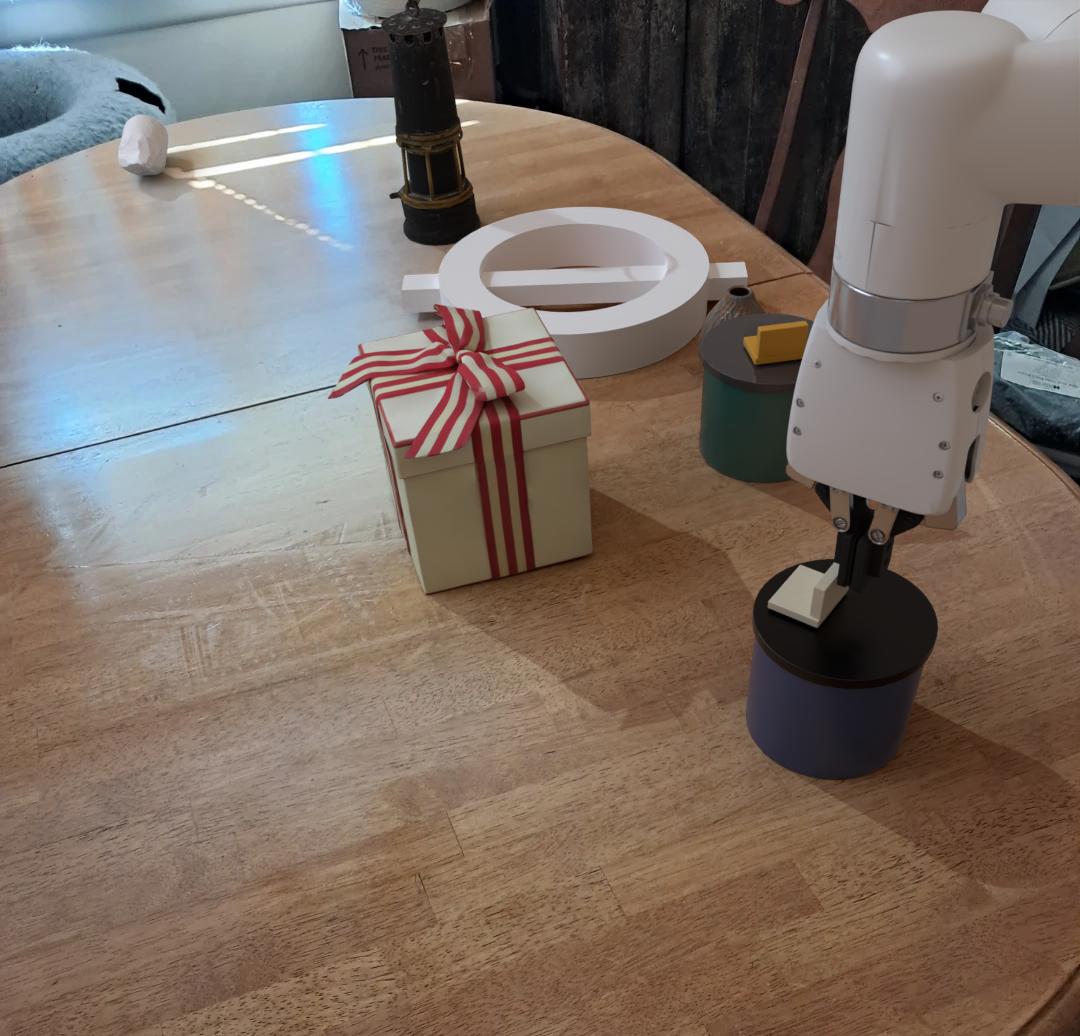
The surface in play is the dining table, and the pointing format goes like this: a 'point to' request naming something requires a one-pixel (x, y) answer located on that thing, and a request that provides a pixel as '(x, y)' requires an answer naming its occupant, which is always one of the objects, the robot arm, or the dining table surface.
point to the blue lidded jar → (838, 676)
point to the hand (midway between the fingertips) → (859, 576)
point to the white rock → (143, 146)
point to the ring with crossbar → (585, 282)
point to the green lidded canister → (746, 402)
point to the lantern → (428, 130)
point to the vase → (730, 309)
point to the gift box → (480, 445)
